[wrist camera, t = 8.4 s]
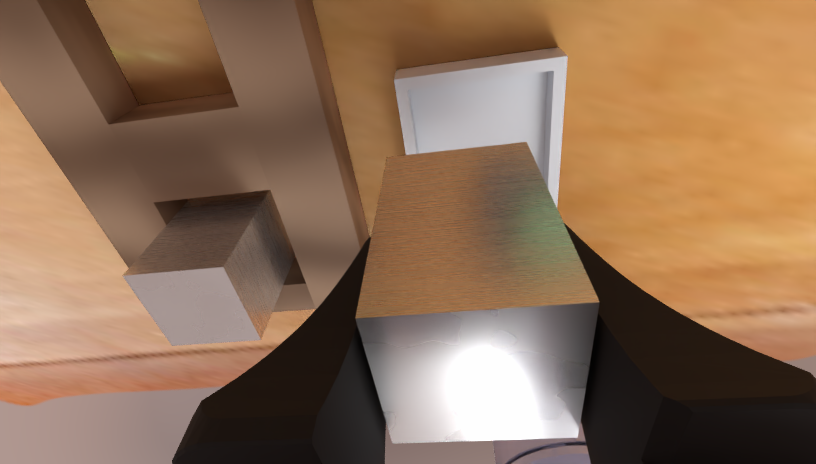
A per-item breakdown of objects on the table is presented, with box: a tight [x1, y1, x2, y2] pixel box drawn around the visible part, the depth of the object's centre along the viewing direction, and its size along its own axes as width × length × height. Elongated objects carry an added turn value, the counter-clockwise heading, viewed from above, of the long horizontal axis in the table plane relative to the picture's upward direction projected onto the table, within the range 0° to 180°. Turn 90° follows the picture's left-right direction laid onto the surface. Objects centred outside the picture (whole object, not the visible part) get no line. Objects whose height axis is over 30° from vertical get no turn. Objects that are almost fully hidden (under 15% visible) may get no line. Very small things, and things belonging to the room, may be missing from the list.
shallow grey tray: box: [394, 47, 568, 207], centre depth 20 cm, size 8×7×2 cm
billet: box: [355, 142, 600, 443], centre depth 12 cm, size 4×4×7 cm
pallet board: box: [0, 0, 370, 312], centre depth 20 cm, size 20×13×2 cm, turn 8°
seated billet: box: [123, 190, 295, 346], centre depth 21 cm, size 4×4×7 cm
